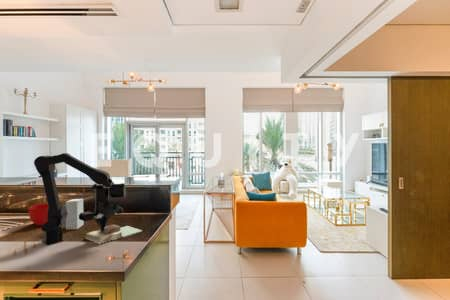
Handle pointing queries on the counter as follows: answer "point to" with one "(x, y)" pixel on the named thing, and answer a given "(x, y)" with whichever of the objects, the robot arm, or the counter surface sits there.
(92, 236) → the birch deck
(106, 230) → the walnut tile
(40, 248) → the counter surface
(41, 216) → the ceramic cup
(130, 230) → the sage mat
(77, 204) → the skincare box
